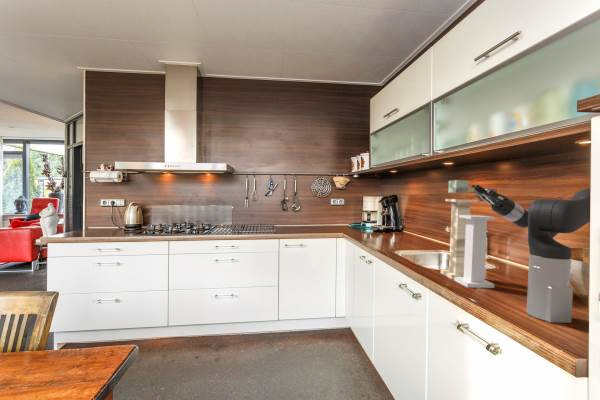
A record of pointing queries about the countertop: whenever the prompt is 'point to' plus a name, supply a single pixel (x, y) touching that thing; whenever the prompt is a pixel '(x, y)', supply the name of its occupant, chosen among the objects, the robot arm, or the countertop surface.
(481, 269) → the white pedestal stand
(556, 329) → the countertop surface
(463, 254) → the beige wooden post
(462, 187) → the mallet
